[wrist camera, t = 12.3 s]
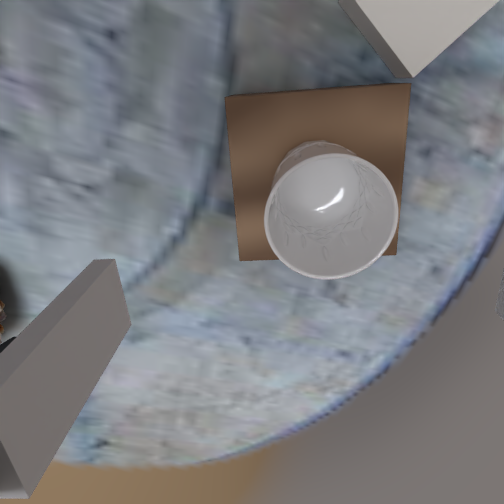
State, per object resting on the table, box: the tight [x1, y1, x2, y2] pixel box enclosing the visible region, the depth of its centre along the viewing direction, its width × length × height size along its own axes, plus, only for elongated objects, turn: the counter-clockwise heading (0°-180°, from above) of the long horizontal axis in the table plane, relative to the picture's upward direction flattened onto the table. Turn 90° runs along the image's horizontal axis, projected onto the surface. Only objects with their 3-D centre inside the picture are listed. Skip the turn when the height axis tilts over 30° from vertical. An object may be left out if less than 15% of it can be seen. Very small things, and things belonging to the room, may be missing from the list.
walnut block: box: [225, 83, 411, 261], centre depth 35 cm, size 14×14×6 cm
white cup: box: [264, 140, 398, 279], centre depth 27 cm, size 8×8×10 cm
